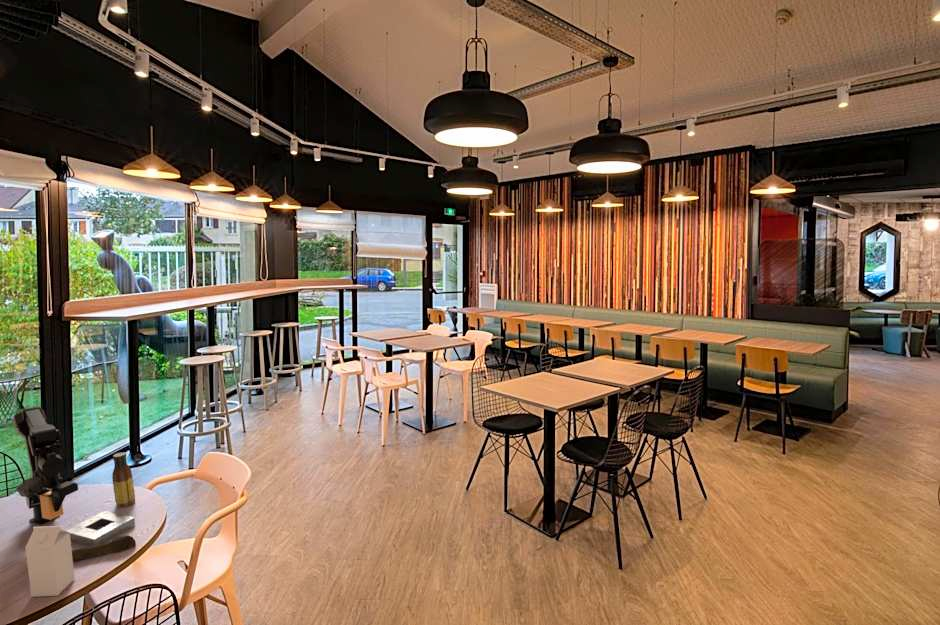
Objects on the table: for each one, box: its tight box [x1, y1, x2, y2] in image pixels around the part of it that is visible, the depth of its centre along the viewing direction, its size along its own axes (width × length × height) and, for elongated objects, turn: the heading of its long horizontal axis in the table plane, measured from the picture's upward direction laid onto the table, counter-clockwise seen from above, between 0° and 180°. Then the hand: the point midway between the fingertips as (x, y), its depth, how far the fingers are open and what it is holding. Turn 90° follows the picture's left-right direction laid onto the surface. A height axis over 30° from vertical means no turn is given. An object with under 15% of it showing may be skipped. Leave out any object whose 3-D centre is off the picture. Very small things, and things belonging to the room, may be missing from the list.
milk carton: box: [25, 525, 76, 598], centre depth 147 cm, size 7×7×19 cm
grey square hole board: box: [65, 510, 136, 547], centre depth 177 cm, size 14×14×3 cm
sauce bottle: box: [111, 452, 136, 508], centre depth 194 cm, size 7×6×20 cm
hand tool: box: [72, 534, 137, 562], centre depth 164 cm, size 19×4×5 cm, turn 116°
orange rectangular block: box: [40, 491, 64, 521], centre depth 173 cm, size 4×4×8 cm
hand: (52, 510), depth 174 cm, fingers closed on orange rectangular block, 4 cm apart
